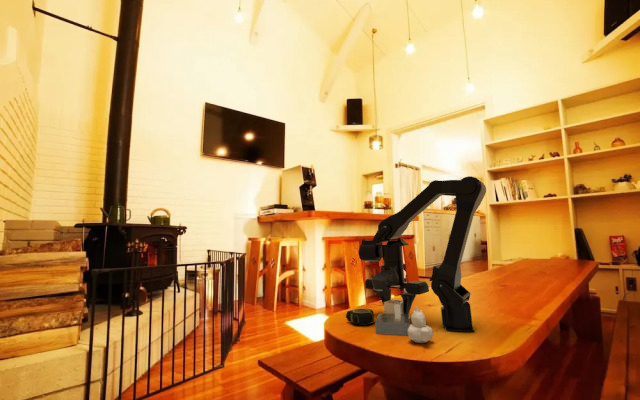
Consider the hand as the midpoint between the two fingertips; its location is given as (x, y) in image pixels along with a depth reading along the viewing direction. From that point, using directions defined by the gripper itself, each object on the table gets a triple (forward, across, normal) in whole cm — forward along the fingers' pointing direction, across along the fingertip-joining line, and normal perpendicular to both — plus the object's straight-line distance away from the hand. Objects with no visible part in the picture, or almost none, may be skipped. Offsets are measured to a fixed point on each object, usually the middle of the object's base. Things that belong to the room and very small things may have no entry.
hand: (397, 315), depth 83 cm
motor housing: (+1, +5, -9) cm, 10 cm away
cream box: (+1, 0, 0) cm, 1 cm away
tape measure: (+1, -6, -10) cm, 12 cm away
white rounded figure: (+1, +14, -13) cm, 19 cm away
